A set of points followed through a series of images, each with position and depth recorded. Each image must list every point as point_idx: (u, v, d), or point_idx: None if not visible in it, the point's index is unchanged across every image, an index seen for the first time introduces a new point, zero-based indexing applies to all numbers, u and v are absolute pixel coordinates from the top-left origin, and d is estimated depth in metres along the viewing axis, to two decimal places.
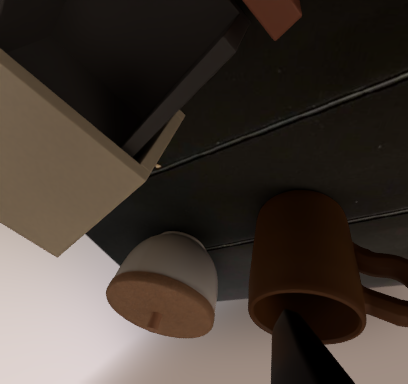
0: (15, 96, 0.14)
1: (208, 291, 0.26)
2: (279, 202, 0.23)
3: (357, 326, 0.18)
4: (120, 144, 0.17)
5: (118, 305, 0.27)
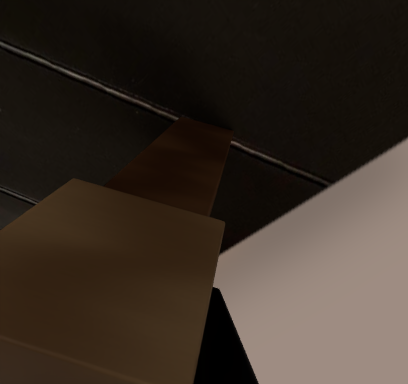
0: None
1: None
2: None
3: None
4: None
5: None
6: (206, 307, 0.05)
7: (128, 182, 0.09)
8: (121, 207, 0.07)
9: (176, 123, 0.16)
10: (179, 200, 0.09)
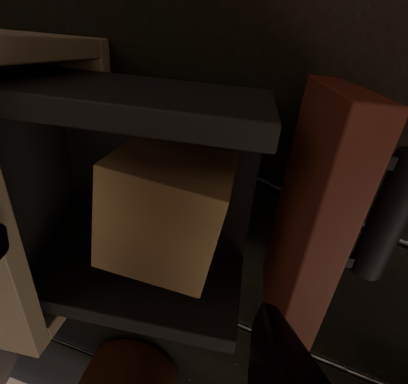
0: None
1: None
2: (136, 356, 0.22)
3: None
4: (37, 267, 0.13)
5: None
6: (232, 181, 0.10)
7: None
8: (176, 143, 0.12)
9: None
10: None
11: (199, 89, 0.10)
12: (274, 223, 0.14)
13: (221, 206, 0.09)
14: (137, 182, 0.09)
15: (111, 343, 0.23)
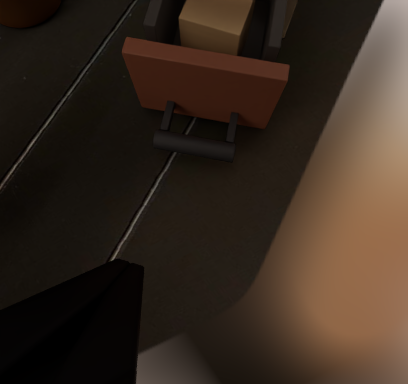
0: None
1: None
2: None
3: None
4: None
5: None
6: (237, 51, 0.20)
7: None
8: (243, 45, 0.23)
9: None
10: None
11: None
12: None
13: (238, 32, 0.19)
14: (250, 2, 0.19)
15: None
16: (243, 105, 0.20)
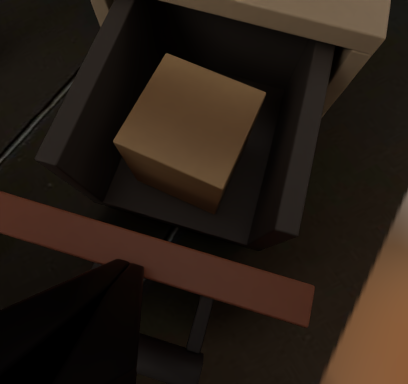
0: None
1: None
2: None
3: None
4: (156, 3, 0.13)
5: None
6: (219, 199, 0.11)
7: None
8: (236, 164, 0.14)
9: None
10: None
11: None
12: None
13: (220, 182, 0.10)
14: (249, 121, 0.11)
15: None
16: None
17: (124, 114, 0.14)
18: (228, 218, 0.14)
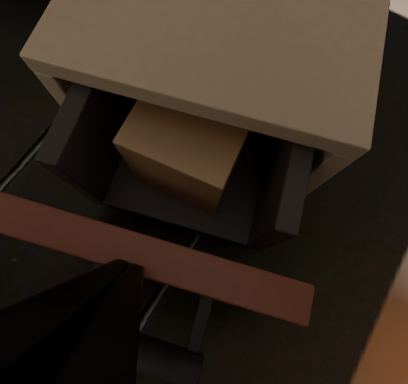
0: (242, 84, 0.09)
1: None
2: None
3: None
4: None
5: None
6: (219, 199, 0.11)
7: None
8: (236, 164, 0.14)
9: None
10: None
11: None
12: None
13: (220, 182, 0.10)
14: None
15: None
16: None
17: (124, 114, 0.14)
18: (228, 218, 0.14)
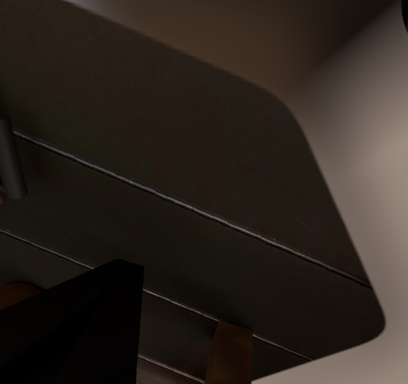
0: None
1: None
2: (19, 293, 0.29)
3: None
4: None
5: None
6: None
7: None
8: None
9: (219, 335, 0.26)
10: None
11: None
12: None
13: None
14: None
15: (5, 286, 0.30)
16: None
17: None
18: None
